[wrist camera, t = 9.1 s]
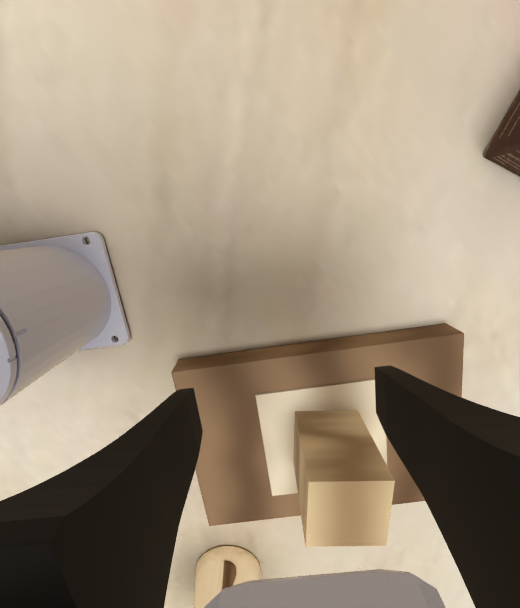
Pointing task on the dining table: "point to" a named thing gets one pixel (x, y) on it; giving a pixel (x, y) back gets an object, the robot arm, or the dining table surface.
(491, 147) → the box
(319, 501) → the maple block
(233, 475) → the walnut board
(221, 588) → the beer glass
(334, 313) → the dining table surface
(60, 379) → the dining table surface
